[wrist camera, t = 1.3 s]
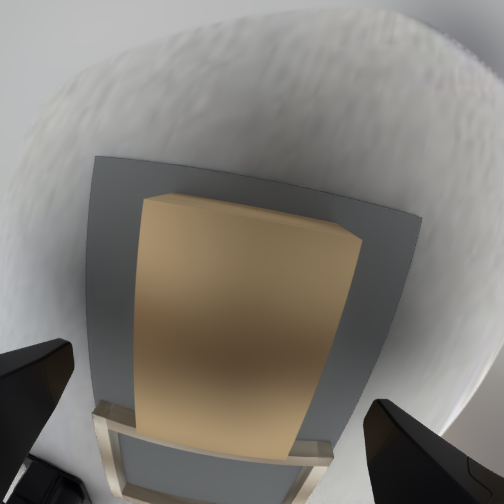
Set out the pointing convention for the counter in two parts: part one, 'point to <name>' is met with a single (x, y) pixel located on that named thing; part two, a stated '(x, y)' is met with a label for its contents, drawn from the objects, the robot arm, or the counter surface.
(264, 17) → the counter surface
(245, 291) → the tile
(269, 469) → the mat
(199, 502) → the frame
